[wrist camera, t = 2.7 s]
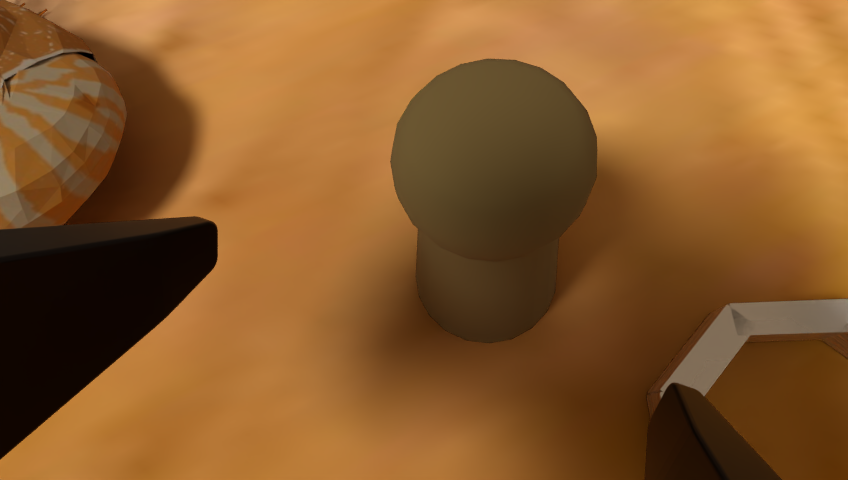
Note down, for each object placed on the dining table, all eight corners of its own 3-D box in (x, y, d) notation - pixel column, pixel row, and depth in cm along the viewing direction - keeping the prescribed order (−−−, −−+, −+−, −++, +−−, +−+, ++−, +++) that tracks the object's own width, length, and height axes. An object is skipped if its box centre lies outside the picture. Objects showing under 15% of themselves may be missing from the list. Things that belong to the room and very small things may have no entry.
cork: (388, 262, 22) (313, 109, 12) (494, 185, 23) (509, -19, 13) (474, 373, 20) (473, 303, 10) (587, 284, 21) (695, 132, 10)
